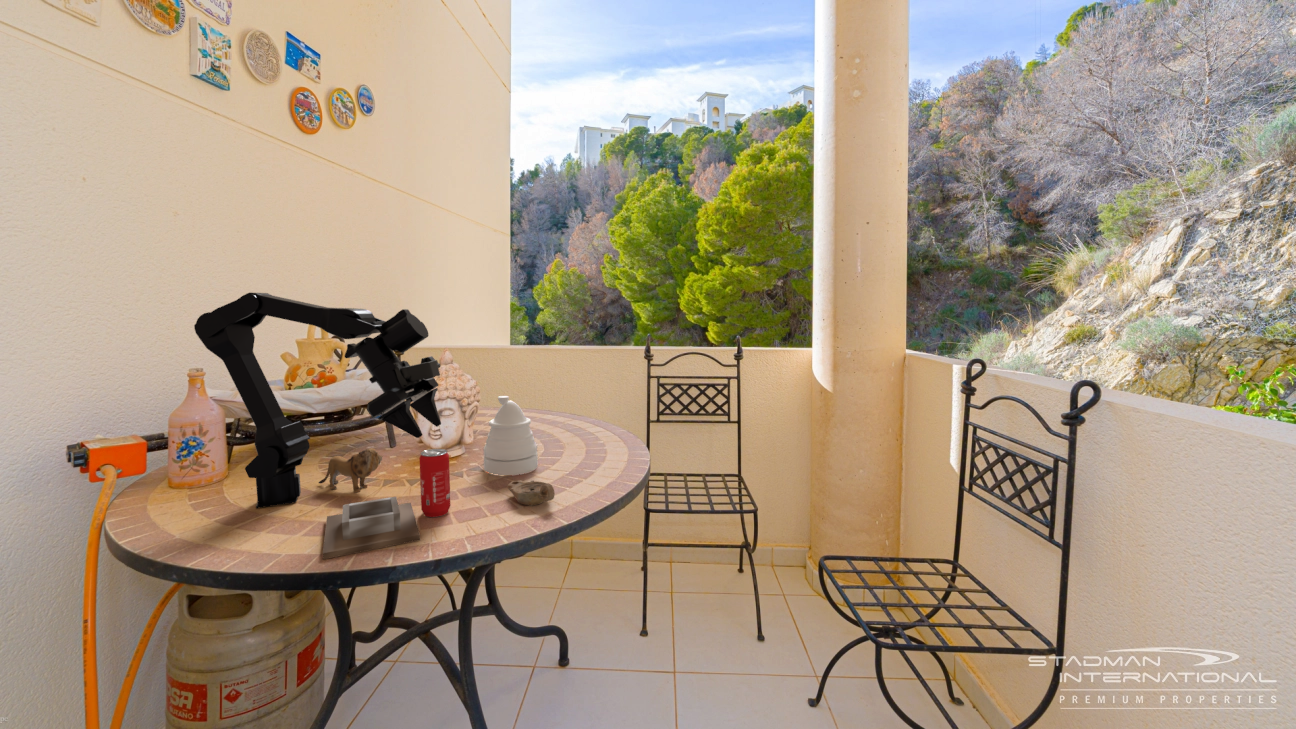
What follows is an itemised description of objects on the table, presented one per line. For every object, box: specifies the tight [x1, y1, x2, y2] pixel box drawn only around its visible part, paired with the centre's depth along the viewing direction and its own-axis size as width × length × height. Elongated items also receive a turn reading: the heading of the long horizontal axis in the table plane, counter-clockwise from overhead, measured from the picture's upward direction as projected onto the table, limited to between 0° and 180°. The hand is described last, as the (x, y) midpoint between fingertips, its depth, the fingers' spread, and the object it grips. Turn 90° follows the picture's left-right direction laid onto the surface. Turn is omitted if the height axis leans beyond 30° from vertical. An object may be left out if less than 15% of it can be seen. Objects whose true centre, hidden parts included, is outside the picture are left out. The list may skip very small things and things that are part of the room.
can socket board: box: [322, 496, 421, 560], centre depth 90 cm, size 14×16×4 cm
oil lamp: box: [506, 479, 555, 506], centre depth 104 cm, size 13×8×5 cm, turn 47°
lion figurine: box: [318, 448, 383, 494], centre depth 111 cm, size 15×5×9 cm, turn 82°
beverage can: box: [419, 448, 452, 518], centre depth 98 cm, size 5×5×12 cm
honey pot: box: [483, 395, 539, 476], centre depth 125 cm, size 13×13×18 cm
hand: (430, 430), depth 102 cm, fingers open, 9 cm apart
